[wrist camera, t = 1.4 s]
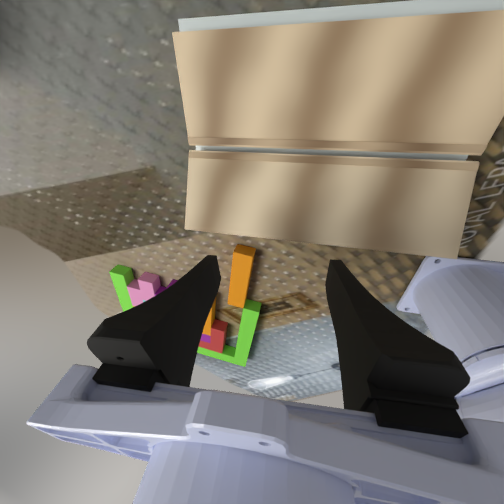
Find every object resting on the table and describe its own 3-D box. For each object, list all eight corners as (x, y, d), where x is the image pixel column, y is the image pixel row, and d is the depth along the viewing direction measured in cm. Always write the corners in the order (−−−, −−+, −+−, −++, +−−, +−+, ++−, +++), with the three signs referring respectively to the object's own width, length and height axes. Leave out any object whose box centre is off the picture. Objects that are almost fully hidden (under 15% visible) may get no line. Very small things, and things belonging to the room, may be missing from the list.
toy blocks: (247, 355, 40) (275, 250, 25) (245, 366, 38) (272, 261, 23) (138, 323, 42) (104, 208, 27) (131, 332, 40) (89, 216, 25)
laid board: (545, 13, 12) (568, 4, 11) (470, 152, 16) (481, 155, 15) (180, 37, 15) (171, 31, 14) (195, 143, 19) (189, 145, 18)
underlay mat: (555, -10, 11) (559, -12, 11) (414, 251, 21) (415, 252, 21) (179, 20, 15) (178, 19, 15) (207, 229, 25) (207, 229, 25)
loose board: (465, 166, 16) (479, 161, 15) (445, 257, 17) (457, 259, 15) (195, 154, 20) (188, 149, 18) (190, 229, 21) (184, 229, 19)
